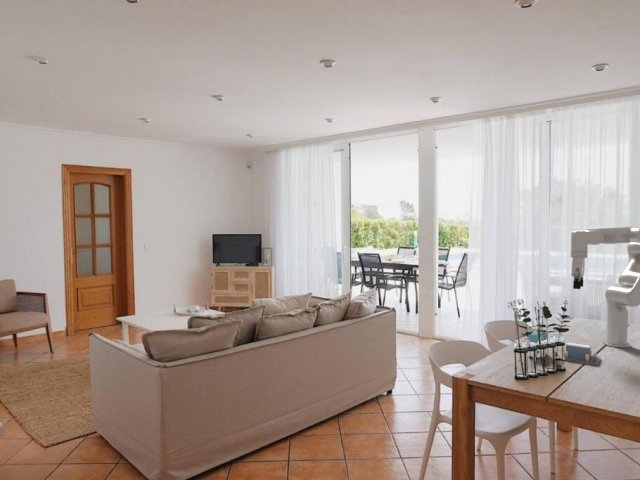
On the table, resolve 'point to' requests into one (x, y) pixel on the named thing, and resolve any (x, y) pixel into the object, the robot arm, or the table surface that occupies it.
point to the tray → (593, 359)
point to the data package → (534, 337)
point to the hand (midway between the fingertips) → (578, 287)
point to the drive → (578, 350)
